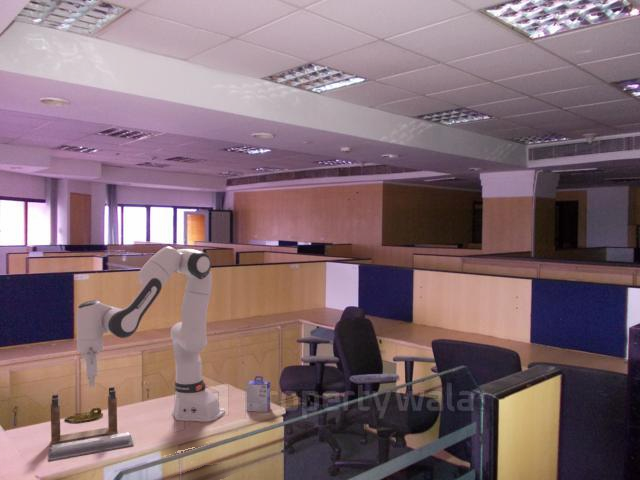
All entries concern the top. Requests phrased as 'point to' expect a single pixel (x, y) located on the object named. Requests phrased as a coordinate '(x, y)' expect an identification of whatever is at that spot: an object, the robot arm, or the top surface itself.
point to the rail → (90, 443)
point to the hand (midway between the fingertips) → (91, 382)
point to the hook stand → (60, 439)
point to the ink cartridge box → (258, 395)
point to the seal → (85, 416)
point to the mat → (89, 450)
